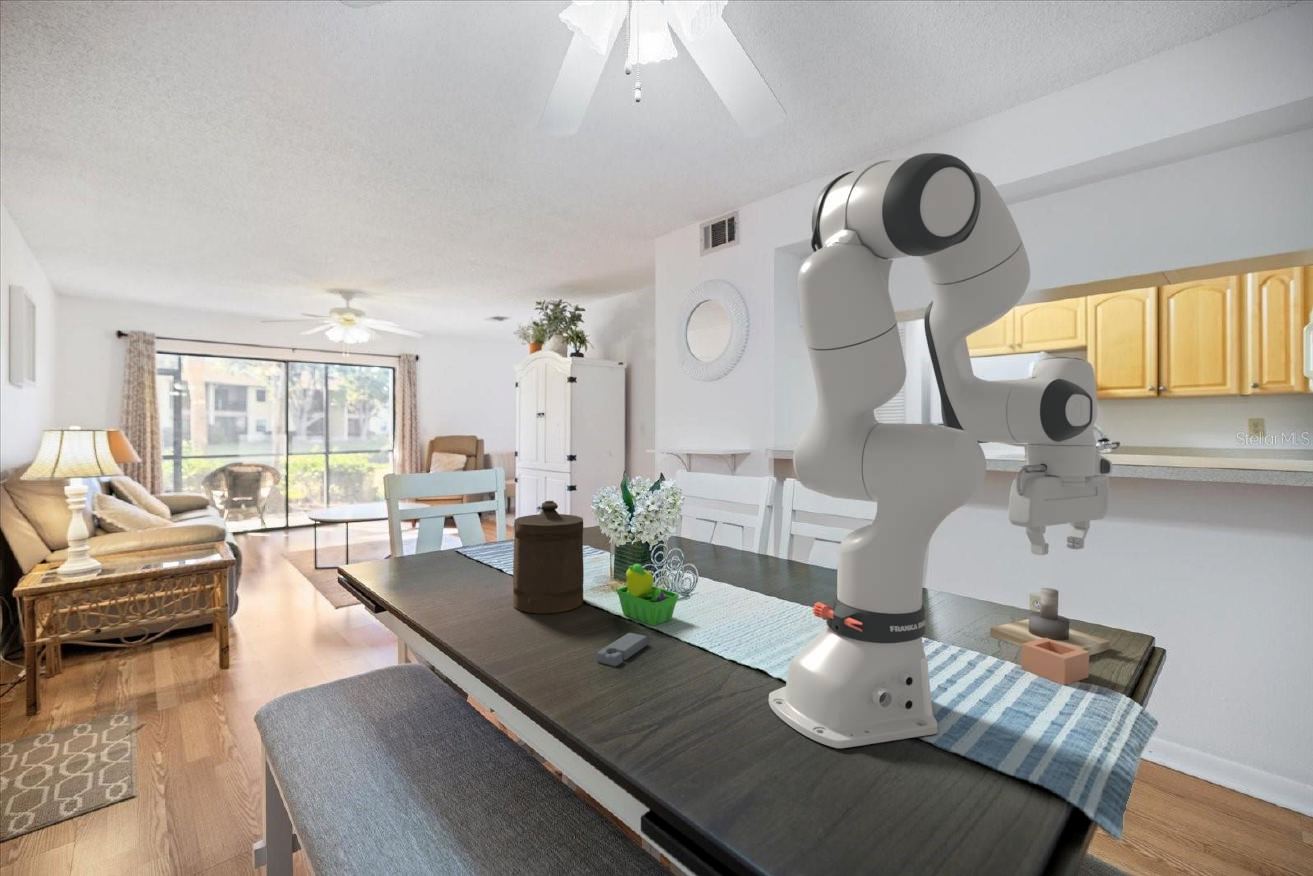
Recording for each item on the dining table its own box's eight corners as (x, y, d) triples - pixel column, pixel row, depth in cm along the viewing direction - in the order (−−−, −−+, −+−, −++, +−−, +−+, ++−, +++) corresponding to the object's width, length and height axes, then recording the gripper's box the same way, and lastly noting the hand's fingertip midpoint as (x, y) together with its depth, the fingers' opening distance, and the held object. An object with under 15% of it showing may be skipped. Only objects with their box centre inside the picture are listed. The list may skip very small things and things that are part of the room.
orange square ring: (1064, 685, 85) (1065, 658, 85) (1021, 668, 91) (1021, 643, 91) (1088, 677, 88) (1089, 651, 88) (1045, 661, 94) (1045, 637, 94)
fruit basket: (680, 619, 113) (681, 563, 112) (648, 631, 107) (649, 571, 106) (641, 606, 121) (642, 553, 121) (609, 615, 115) (609, 560, 114)
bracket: (647, 647, 100) (647, 635, 100) (616, 669, 91) (616, 657, 91) (628, 643, 102) (628, 632, 102) (595, 664, 93) (595, 652, 92)
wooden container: (575, 590, 132) (575, 495, 131) (590, 610, 118) (591, 504, 118) (509, 596, 127) (509, 498, 126) (517, 618, 113) (517, 507, 112)
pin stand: (1066, 662, 94) (1067, 605, 93) (990, 635, 105) (991, 584, 105) (1109, 649, 99) (1111, 595, 99) (1033, 625, 111) (1034, 577, 111)
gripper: (1040, 466, 82) (1038, 562, 82) (1119, 463, 90) (1116, 549, 91) (997, 463, 87) (995, 553, 88) (1075, 460, 96) (1073, 541, 96)
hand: (1057, 551), depth 89 cm, fingers open, 8 cm apart
